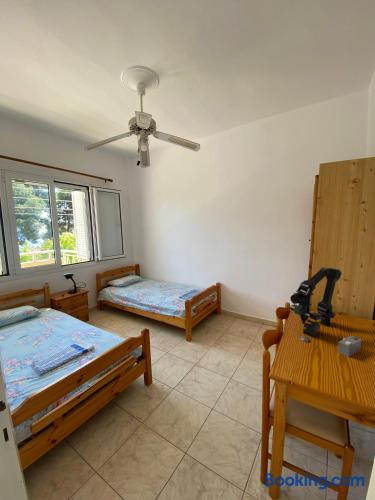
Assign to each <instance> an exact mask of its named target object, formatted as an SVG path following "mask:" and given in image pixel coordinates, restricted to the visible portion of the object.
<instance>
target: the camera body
mask: <svg viewBox="0 0 375 500" xmlns="http://www.w3.org/2000/svg"><path fill="white" fill-rule="evenodd" d="M337 346H338V347H337V352H338V353H340V354H341V355H343V356H345V357H348V358H349V357H351V356H352V355H354V354H355V353H357V352H358V351H361V349H362V348H361V347H362V339H361V338H359V337H356V336H354V335H349V336H347V337H344V338H343V339H341V340H340V341H338V345H337Z"/></svg>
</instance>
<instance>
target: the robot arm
mask: <svg viewBox="0 0 375 500" xmlns="http://www.w3.org/2000/svg"><path fill="white" fill-rule="evenodd" d="M341 276H342V271H341V270H340V269H338V268H334V267H328V268H327V267H320V269H319V270H318V271H317V272H316V273H314V275H313V276H311V277H310V278H309V279H306V280H303V281H302V282H301V283H300V284H299V286H298V287H297V289H296V291H295V292H293V294H292V295H291V296H290V301H291V303H292V304H291V305H289V310H290V311H293V312H294V314H295V315H298V316H299V318H300V320H301V323H302V325H304V324H305V323H307V321H308V320H309V318H310V320H312V321H313V320H314V321H317V322H318V323H319V324H320V325H324V326H326V327H330V326H332V325H334V324H333V323H332V321H331V320H332V319H334V318H335V316H336V314H335V311H333V305H332V300H333V294H334V290H335V286H336V283H337V282H338V281H339V280H340V278H341ZM324 278H326V283H325V288H324V292H323V296H322V300H321V301H319V302H318V303H317V306H316V309H317V310H316V311H317V312H315V311H314V312H312V309H311V306H312V303H311V301H312V296H313V295H314V292H313V291H315V289H316V286H317V284H319V283H320V282H321V281H322V280H323V279H324ZM318 320H320V321H318Z"/></svg>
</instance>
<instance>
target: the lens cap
mask: <svg viewBox="0 0 375 500" xmlns="http://www.w3.org/2000/svg"><path fill="white" fill-rule="evenodd" d="M299 339H300V340H301V341H302V342H304V343H309V342H311V339H310V338H309V337H308V336H305V335H304V336H303V335H301V336H300V337H299Z"/></svg>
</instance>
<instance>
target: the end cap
mask: <svg viewBox="0 0 375 500" xmlns="http://www.w3.org/2000/svg"><path fill="white" fill-rule="evenodd" d="M318 322H319V321H318V320H314V321H313V320H312V319H307V321H306V322H305V324H303V330H302V331H303V332H302V333H303V334H304V335H306V336H309V337H310V336H311V337H312V336H315V335H316V334H317V333H318V332H319V330H320V329H321V323H318Z"/></svg>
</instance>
